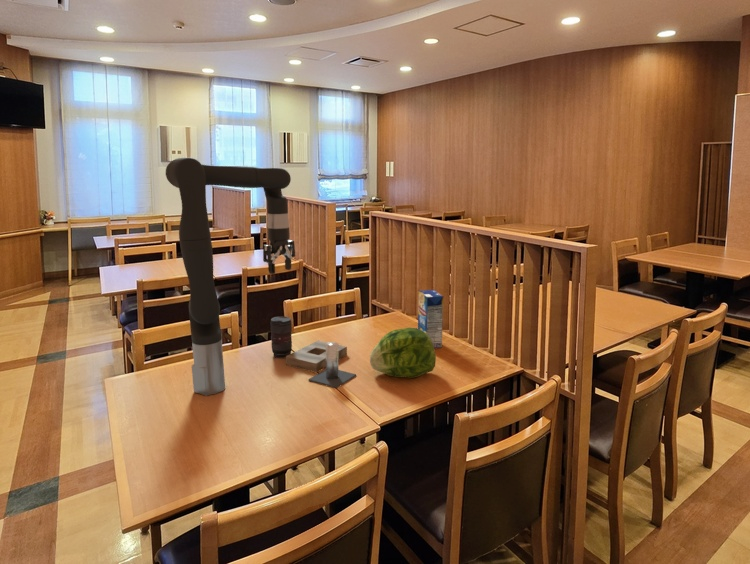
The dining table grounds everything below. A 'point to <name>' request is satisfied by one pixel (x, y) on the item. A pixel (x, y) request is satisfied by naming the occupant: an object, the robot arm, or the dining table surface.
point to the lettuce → (404, 353)
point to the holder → (312, 356)
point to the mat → (333, 383)
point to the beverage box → (431, 315)
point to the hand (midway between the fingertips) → (280, 271)
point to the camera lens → (281, 336)
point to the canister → (332, 360)
